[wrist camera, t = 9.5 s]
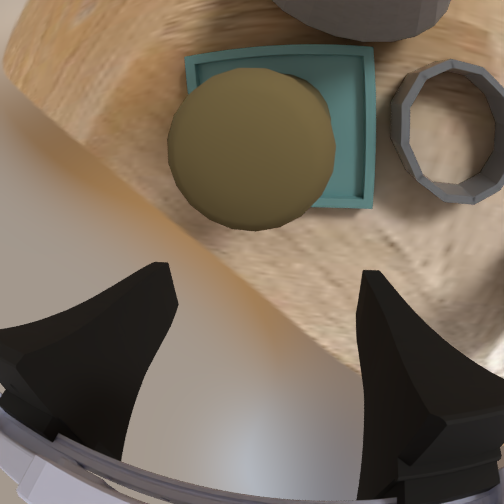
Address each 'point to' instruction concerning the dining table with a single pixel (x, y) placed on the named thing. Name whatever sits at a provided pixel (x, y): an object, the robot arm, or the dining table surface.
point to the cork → (252, 148)
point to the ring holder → (468, 192)
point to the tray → (336, 96)
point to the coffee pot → (367, 17)
